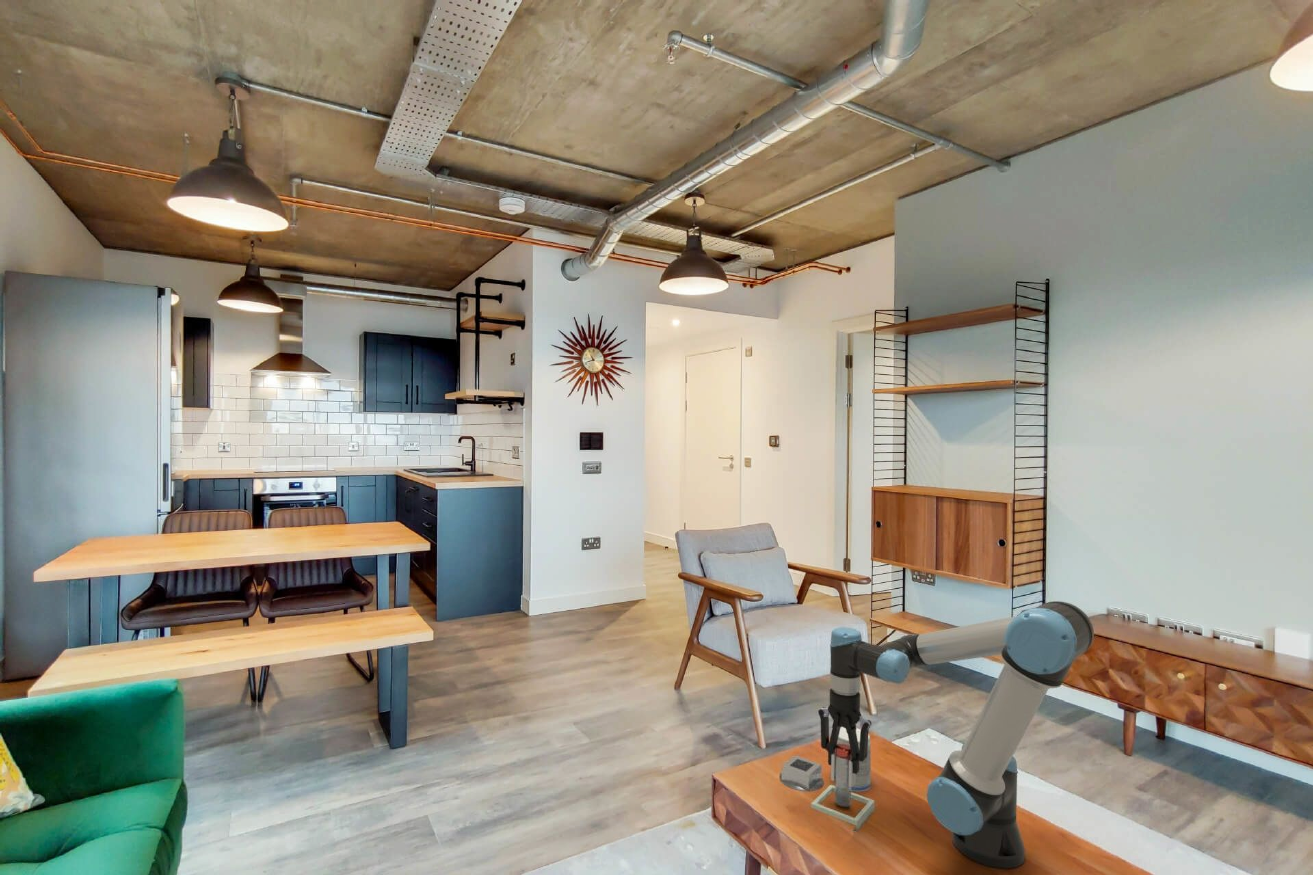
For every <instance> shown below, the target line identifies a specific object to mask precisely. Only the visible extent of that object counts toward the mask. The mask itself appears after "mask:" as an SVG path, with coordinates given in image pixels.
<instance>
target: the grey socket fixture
mask: <svg viewBox="0 0 1313 875" xmlns="http://www.w3.org/2000/svg"><path fill="white" fill-rule="evenodd" d="M778 778H779V781H780V782H781V783H782V785H784V786H785V787H787V788H789V789H792V790H795V791H798V792H805V793H806V792H807V793H808V792H816V791H818V790H820V789H821V788H823V787H824V784H825V780H824V779H823V778H822V763H818V762H816V761H813V760H810V759H807V758H804V757H802V756H799V755H793V756H792V757H791V758H790V759H788V760H786V762H785V763H784V764H782V765H781V772H780V774H779V777H778Z"/></svg>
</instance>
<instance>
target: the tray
mask: <svg viewBox="0 0 1313 875" xmlns="http://www.w3.org/2000/svg"><path fill="white" fill-rule="evenodd" d="M831 793H835V785H832V784H830V785H829V786H827V788H825V789H824V790H823V791H822V792H821V793H820V794H819V795H818V796H817V797H816V798H815V799H814V800H813V801H812V802H811V804H810V808H811V809H814V810H817V811H818V812H821V813H823V814H826V815H828V816H831V817H834V818H837V819H839V820H841V821H843V822H846V823H849V824H852V825H854V826H855V828H854V829H853V831H854V832H858V831H859V830H860V829H861V827H862V826H863V825H864V824H865V823H866V821H867V820H868V819H869V818H870V817H871V815H872V814H873V813H874V811H876V810H875V809H876V808H875V807H876V805H875V804H876V801H875V800H873V799H871V798H869V797H866V796H863V795H860V794H857V793H854V792H853V791H851V800H852V799H853V800H854V801H857V802H860V803H863V804H865V805H864V806H863V807H862V809H861V810H860V811H859V813H857V815H856V816H855V817H853V816H851V815H847V814H845V813H842V812H840V811H837V810H834V809H831V808H829V807H826V806H824V805H821V803H822V802H824V800H825V799H827V797H828V796H830V795H831Z"/></svg>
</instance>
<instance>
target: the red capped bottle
mask: <svg viewBox="0 0 1313 875" xmlns="http://www.w3.org/2000/svg"><path fill="white" fill-rule="evenodd" d="M851 758H852V756H851V750H850V746H849V745H847V744H837V745H836V757H835V780H834V786H835V792H834V802H835V804H836V805H838V806H840V807H846V808H847V807H850V806H851V805H852V798H851V792H852V791H851V787H849V786H848V785H849V760H850V759H851Z"/></svg>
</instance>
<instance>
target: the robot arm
mask: <svg viewBox="0 0 1313 875" xmlns="http://www.w3.org/2000/svg"><path fill="white" fill-rule="evenodd" d="M830 635H831V636H830V645H829V647H830V651H829V652H830V670H829V673H830V674H829V688H830V689H829V706H828V707H825V706H822V707H821V708H820V709H819V710H818V711H817V712H818V716H819V718H820V719H819V720H820V747H821V748H822V749H824V750H826V752H827V755H828V756H827V758H828V759H827V764H828V766H831V767H830V770H831V771H830V777H831V778H830V781H833V782H835V757H836V751H835V750H836V745H837V741H838V737H839V732H840V728H841V727H844V728H846V731H847V733H848V738H849V744H850V750H851V756H852V758H851V759H850V760H849V785H848V786H849V787H852V786H853V785H854V784H855V781H856V774H857V773H858V772H859V761H864V760H865V759H866V758H867V751H868V734H869V735H870V733H869V732H870V728H871V726H872V720H870V719H868V720H867V719H866V718H864V717H863V716H862V714H861V710H860V709H861V693H860V691H861V674H864V675H867V676H870V677H872V678H876V679H879V680H882V681H883V682H886V683H894V684H898V685H899V684H902V683H904V682H905V681H906V679H907V678H908V676H909V673H910V669H913V668H917V667H925V666H929V665H937V664H943V663H951V662H956V661H957V662H958V661H965V660H971V659H979V658H985V657H987V658H988V657H994V656H1000V657H1001V659H1002V661H1003V664H1004V666H1003V667H1002V669H1001V671H1000V673H999V675H998V676H997V677H998V678H997V679H996V681H995V684H994V686H993V687H992V689H991V691H990V693H989V694H988V698H986V701H985V702H984V705H983V706H982V709H981V711H980V713H979V714H978V717H977V719H976V721H975V723H974V725H973V727H972V728H971V731H970V733H969V735H968V737H967V739H966V741H965V743H963V744H962V746H961V750H954V751H952V752H951V753H950V754H949V756H948V759H947V761H945V762H946V763H945V765H944V766H943V768H942V770H941V772H940V773H939V775H938V776H937V777H935V778H932V780H931V781H930V783H929V785H928V787H927V790H926V800H927V803H928V805H929V808H930V811H931V813H932V814H933V816H934V817H935V819H936V820H937V821H938V822H939V823H940V824H941V825H942V826H943V827H944V828H946V829H947V830H949V831H950V832H951V836H952V837H951V840H952V843H953V846H954V847H955V848H956V849H957V850H958V851H959V852H960V853H961V854H962V855H964V856H966V857H967V858H968V859H970V860H972V861H974V862H976V863H979V864H981V865H985V866H988V867H991V868H996V869H998V868H999V869H1014V868H1018V867H1020V866H1021V865H1023V864H1024V862H1025V858H1026V857H1025V852H1026V851H1025V850H1026V849H1025V843H1024V840H1023V838H1022V835H1021V831H1020V829H1019V826H1018V822H1017V809H1018V808H1017V807H1018V806H1017V805H1018V804H1017V802H1018V799H1017V798H1018V797H1017V796H1018V774H1019V771H1018V763H1017V760H1016V758H1015V757H1014V754H1015V753H1016V751H1017V749H1018V747H1019V745H1020V743H1021V741H1022V739H1023V738H1024V736H1025V734H1026V733H1027V730H1028V728H1029V726H1030V724H1031V723H1032V720H1033V719H1034V717H1035V715H1036V713H1037V711H1038V710H1039V707H1040V706H1041V703H1042V702H1043V700H1044V698H1045V696H1046V694H1047V693H1048V691H1049V690H1050V689H1057V688H1060V687H1061V686H1062V684H1063V683H1064V681H1065V678H1066V677H1067V675H1068V674H1069V672H1070V670H1071V668H1072V666H1073V664H1074V662H1075V661H1076V659H1078V658H1079V657H1081V656H1082V655H1084V654H1085V653H1087V651H1088V650H1089V649H1090V647H1091V646H1092V644H1093V643H1094V637H1095V629H1094V626H1093V623H1092V621H1091V619H1090V618H1089V616H1088V615H1087V613H1085V612H1084V611H1083V610H1082V609H1080V608H1079V607H1078V606H1077V605H1075V604H1072V603H1070V602H1065V601H1061V600H1059V601H1058V600H1057V601H1048V602H1045V603H1042V604H1040V605H1038V606H1035V607H1032V608H1028V609H1022V610H1021V611H1020V612H1019V613H1018V614H1017V615H1016V616H1011V617H1006V618H1001V619H996V620H989V621H985V622H984V621H983V622H978V623H973V624H968V625H962V626H957V627H951V628H947V629H941V630H936V631H931V632H926V633H925V632H924V633H920V634H907V635H903V636H901V637H900V638H897V639H895V640H893V641H889V642H886V643H883V644H880V645H877V644H873V643H869V642H867V641H864V640H863V637H862V633H861V632H860V631H859V630H857V629H855V628H852V627H837V628H834V629H833V630H832V631H831V634H830ZM829 716H830V717H831V719H832V726H831V733H830V722H829V721H830V720H829V719H830V718H829ZM857 723H859V727H860V729H861V732H860V749H859V746H858V740H857V734H856V728H857Z"/></svg>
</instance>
